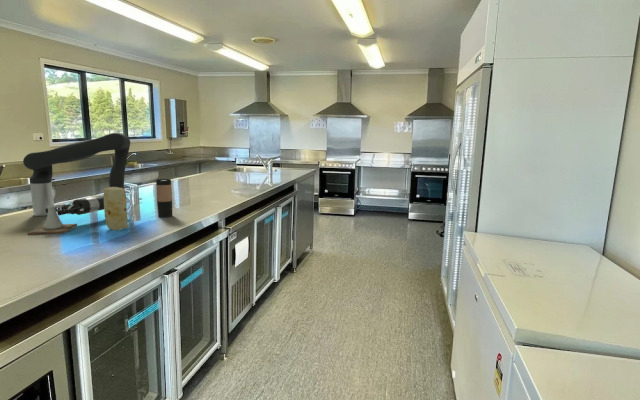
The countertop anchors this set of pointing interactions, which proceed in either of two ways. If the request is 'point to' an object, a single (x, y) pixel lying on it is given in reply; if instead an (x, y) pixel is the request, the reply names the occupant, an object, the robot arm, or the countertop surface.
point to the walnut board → (52, 230)
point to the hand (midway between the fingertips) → (51, 211)
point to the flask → (52, 219)
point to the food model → (115, 208)
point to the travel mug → (164, 197)
